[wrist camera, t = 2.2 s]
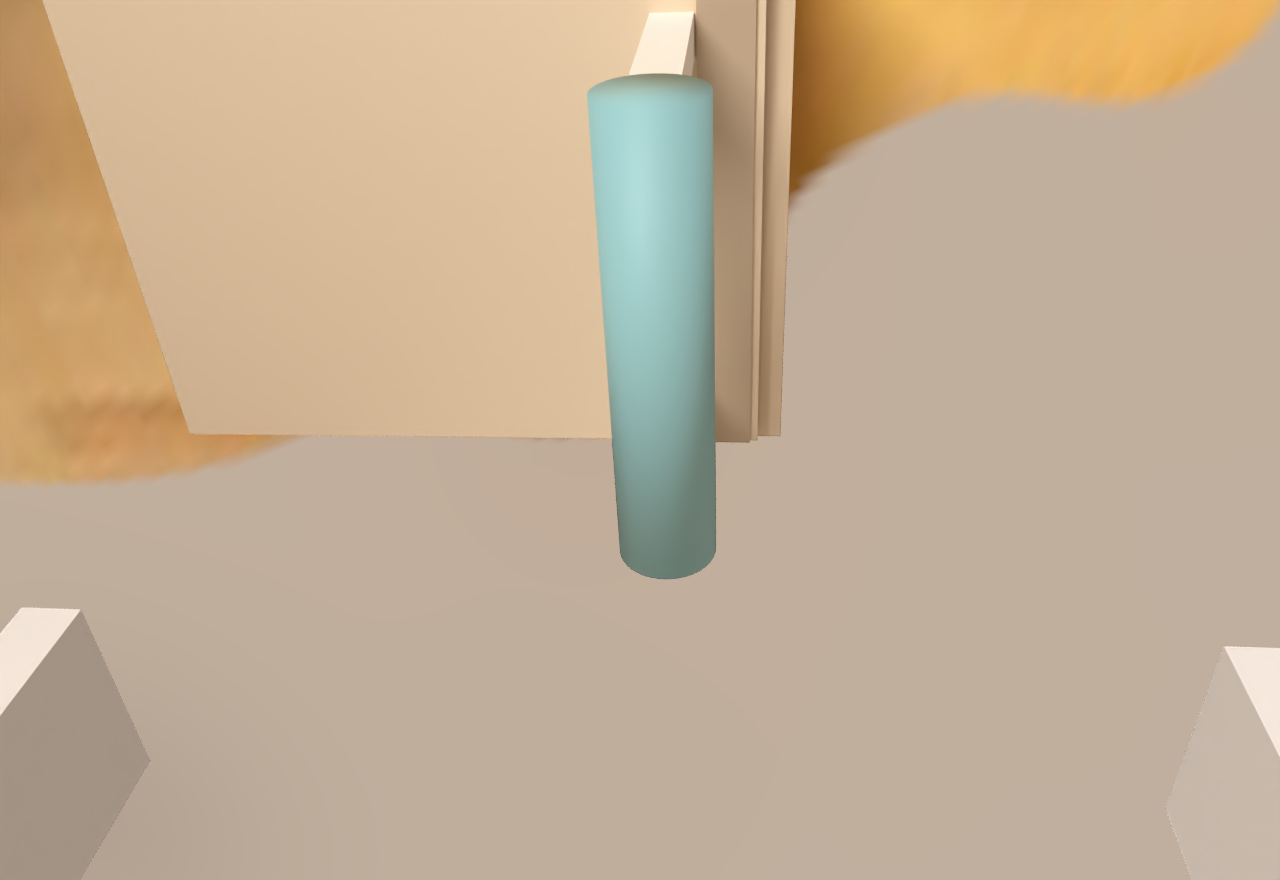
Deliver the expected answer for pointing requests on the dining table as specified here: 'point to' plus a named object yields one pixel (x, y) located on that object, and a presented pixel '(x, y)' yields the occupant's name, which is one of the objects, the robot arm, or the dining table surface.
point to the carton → (775, 208)
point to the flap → (448, 222)
